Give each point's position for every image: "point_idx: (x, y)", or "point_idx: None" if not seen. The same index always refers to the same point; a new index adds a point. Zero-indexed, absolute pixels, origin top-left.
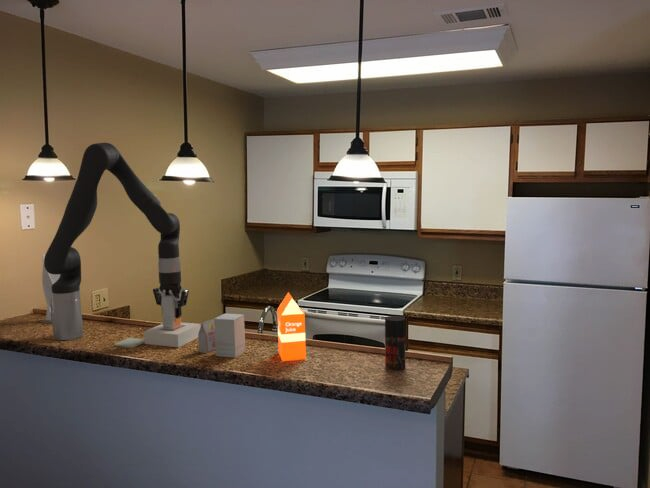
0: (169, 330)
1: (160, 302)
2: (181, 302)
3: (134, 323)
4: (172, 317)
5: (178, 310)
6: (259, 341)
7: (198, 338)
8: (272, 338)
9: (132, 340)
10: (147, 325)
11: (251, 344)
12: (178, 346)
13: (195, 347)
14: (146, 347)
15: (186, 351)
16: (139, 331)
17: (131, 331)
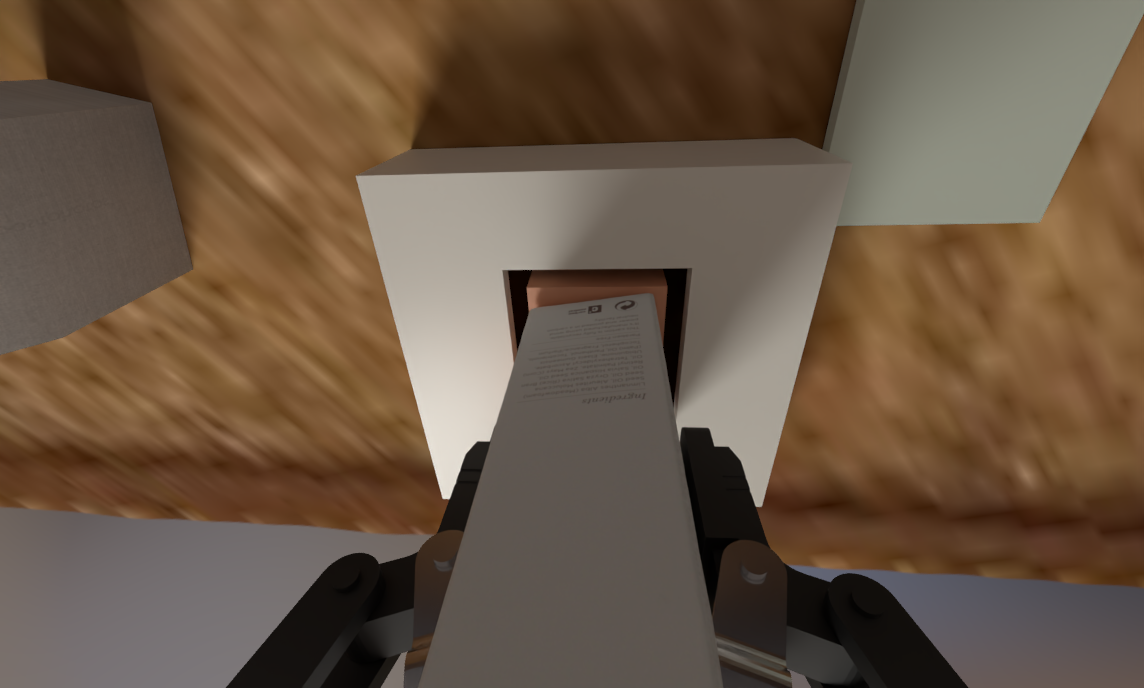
0: (573, 294)
1: (819, 630)
2: (304, 631)
3: (1120, 543)
4: (513, 389)
5: (453, 508)
6: (61, 425)
7: (22, 116)
8: (64, 480)
9: (968, 150)
10: (993, 527)
11: (33, 369)
12: (407, 152)
13: (281, 197)
14: (711, 33)
15: (245, 62)
16: (1008, 417)
17: (1085, 403)
